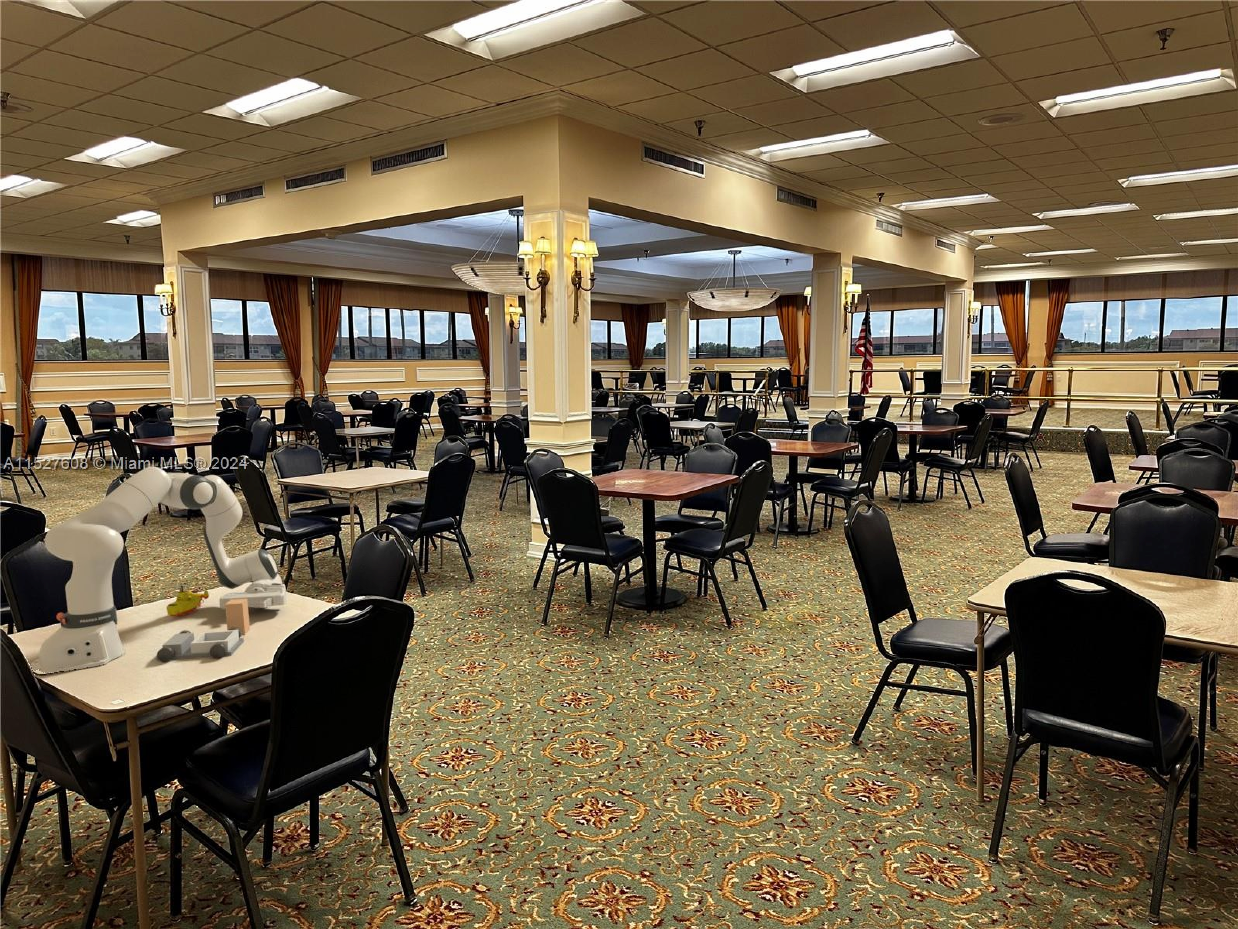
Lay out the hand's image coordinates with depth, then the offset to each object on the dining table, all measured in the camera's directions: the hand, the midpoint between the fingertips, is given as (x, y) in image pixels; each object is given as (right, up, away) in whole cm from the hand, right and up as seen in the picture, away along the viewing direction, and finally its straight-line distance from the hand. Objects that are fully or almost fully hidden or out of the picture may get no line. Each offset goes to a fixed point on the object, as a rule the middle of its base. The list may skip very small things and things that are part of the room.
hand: (247, 606), depth 266 cm
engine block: (+2, -7, -10) cm, 12 cm away
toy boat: (-26, -5, +12) cm, 29 cm away
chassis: (-2, -9, -25) cm, 27 cm away
